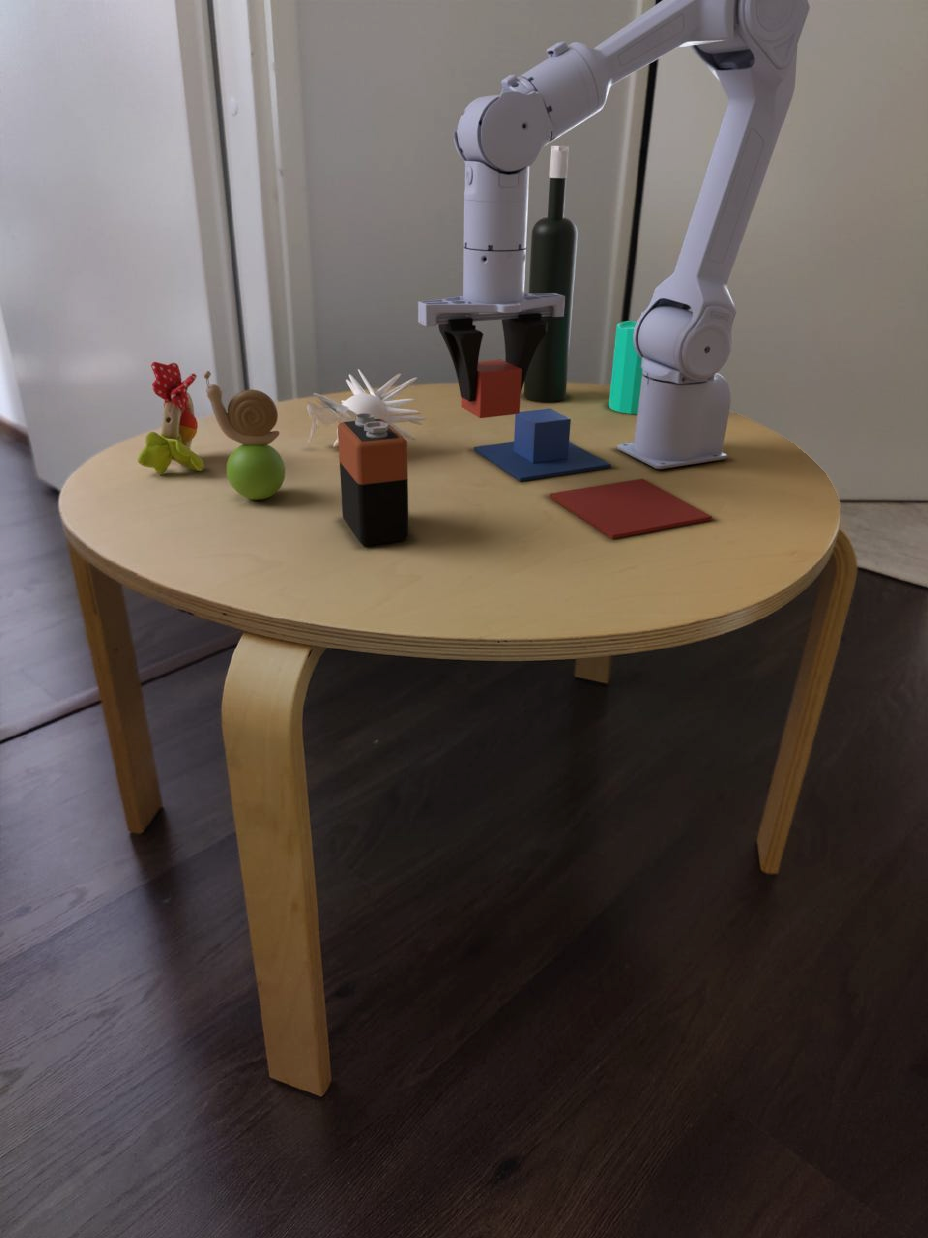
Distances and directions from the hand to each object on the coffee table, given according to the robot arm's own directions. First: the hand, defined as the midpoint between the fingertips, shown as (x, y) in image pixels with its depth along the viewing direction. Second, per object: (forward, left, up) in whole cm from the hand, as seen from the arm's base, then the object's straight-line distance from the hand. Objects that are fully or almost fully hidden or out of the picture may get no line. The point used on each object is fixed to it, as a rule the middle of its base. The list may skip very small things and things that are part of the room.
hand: (490, 396), depth 85 cm
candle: (-29, -16, -9) cm, 35 cm away
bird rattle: (+29, -15, -9) cm, 34 cm away
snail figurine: (+24, -3, -9) cm, 25 cm away
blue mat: (-8, -3, -8) cm, 12 cm away
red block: (0, 0, -1) cm, 1 cm away
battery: (+16, +9, -9) cm, 20 cm away
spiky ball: (+10, -13, -9) cm, 19 cm away
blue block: (-8, -3, -8) cm, 12 cm away
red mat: (-8, +13, -8) cm, 18 cm away
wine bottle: (-21, -25, -9) cm, 34 cm away
